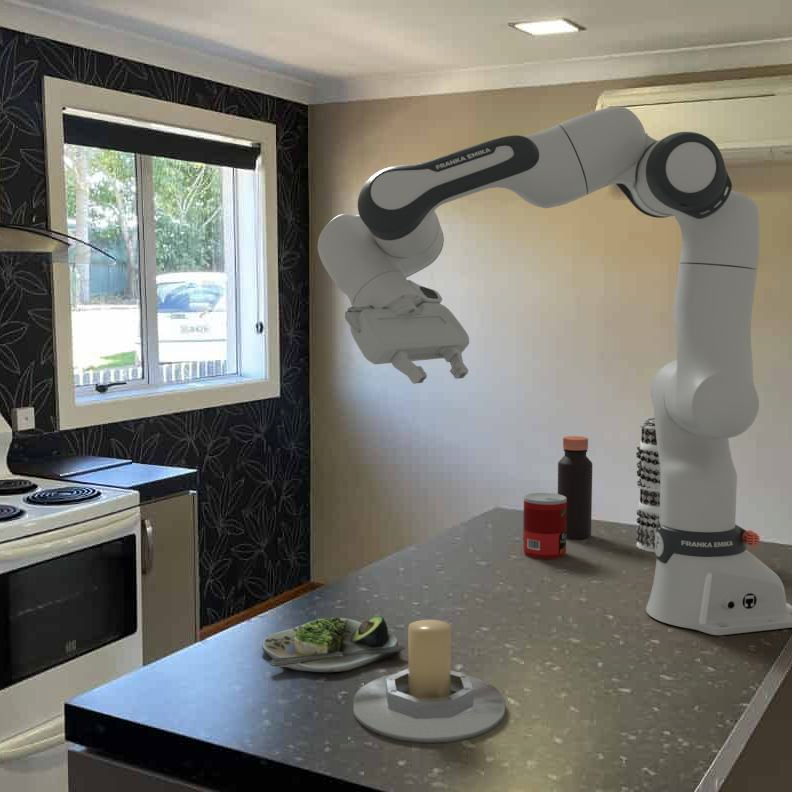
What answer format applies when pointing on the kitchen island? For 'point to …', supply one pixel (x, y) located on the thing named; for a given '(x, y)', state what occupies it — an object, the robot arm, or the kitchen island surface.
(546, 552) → the canned food
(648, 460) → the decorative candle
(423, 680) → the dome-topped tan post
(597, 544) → the kitchen island surface
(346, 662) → the salad plate
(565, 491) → the bottle
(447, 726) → the collar
